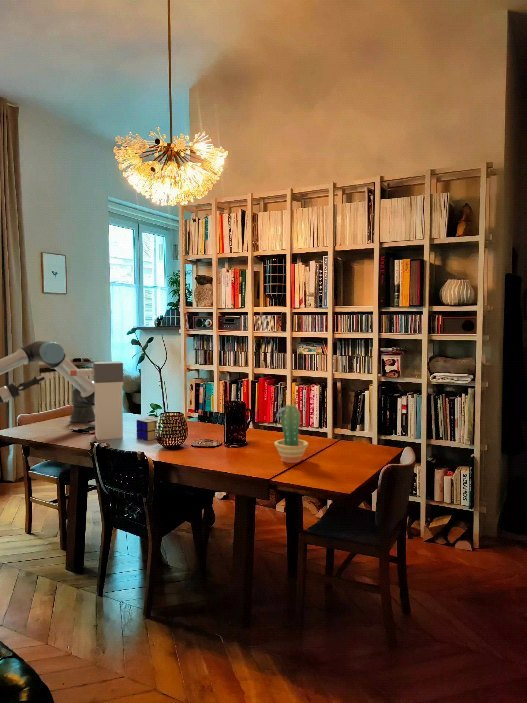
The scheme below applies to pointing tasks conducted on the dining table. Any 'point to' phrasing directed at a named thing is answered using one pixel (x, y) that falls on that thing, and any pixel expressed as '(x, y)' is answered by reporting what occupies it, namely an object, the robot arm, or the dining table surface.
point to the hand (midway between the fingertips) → (50, 374)
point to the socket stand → (108, 400)
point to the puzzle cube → (146, 428)
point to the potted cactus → (290, 435)
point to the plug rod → (82, 372)
